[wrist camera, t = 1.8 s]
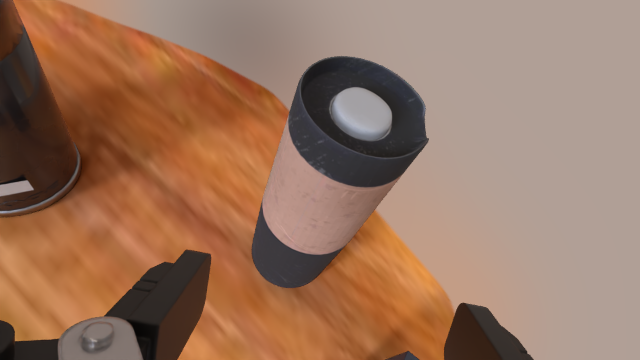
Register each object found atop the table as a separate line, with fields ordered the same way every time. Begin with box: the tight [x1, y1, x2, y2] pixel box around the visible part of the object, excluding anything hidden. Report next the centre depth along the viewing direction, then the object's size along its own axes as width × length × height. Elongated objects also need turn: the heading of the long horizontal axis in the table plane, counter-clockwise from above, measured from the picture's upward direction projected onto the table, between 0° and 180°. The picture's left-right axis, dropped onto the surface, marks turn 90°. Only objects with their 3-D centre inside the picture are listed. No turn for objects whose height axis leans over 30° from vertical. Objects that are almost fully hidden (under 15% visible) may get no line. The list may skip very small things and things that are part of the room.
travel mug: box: [252, 56, 429, 288], centre depth 27 cm, size 8×8×20 cm
